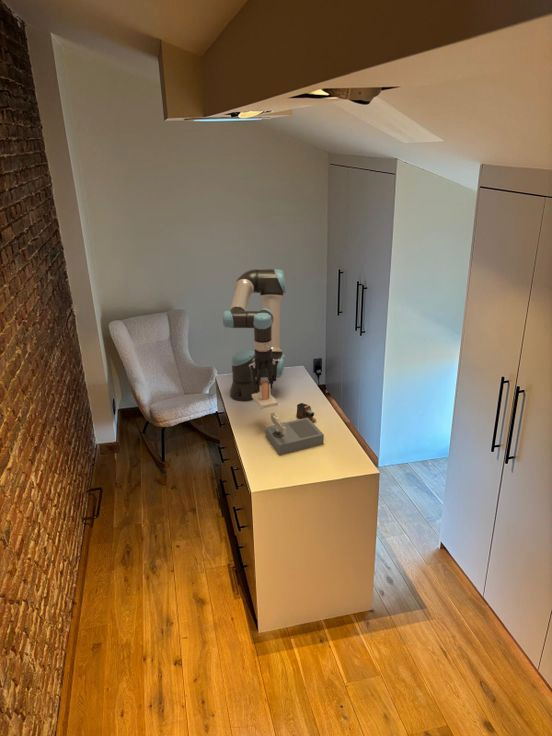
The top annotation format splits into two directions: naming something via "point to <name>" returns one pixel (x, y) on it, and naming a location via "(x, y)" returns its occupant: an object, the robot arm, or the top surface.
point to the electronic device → (305, 412)
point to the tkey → (278, 425)
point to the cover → (264, 397)
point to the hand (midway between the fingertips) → (264, 396)
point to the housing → (295, 436)
